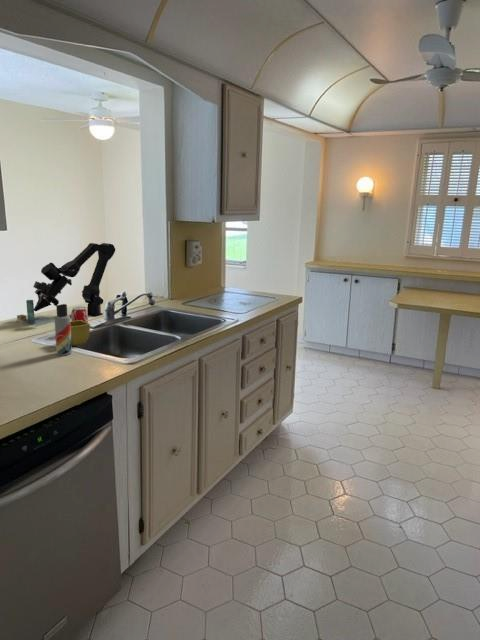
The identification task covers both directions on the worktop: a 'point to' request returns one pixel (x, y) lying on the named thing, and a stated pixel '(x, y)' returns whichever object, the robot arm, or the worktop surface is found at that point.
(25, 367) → the worktop surface
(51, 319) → the yard mat
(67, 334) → the lotion bottle
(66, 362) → the worktop surface
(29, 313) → the gate
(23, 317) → the block
